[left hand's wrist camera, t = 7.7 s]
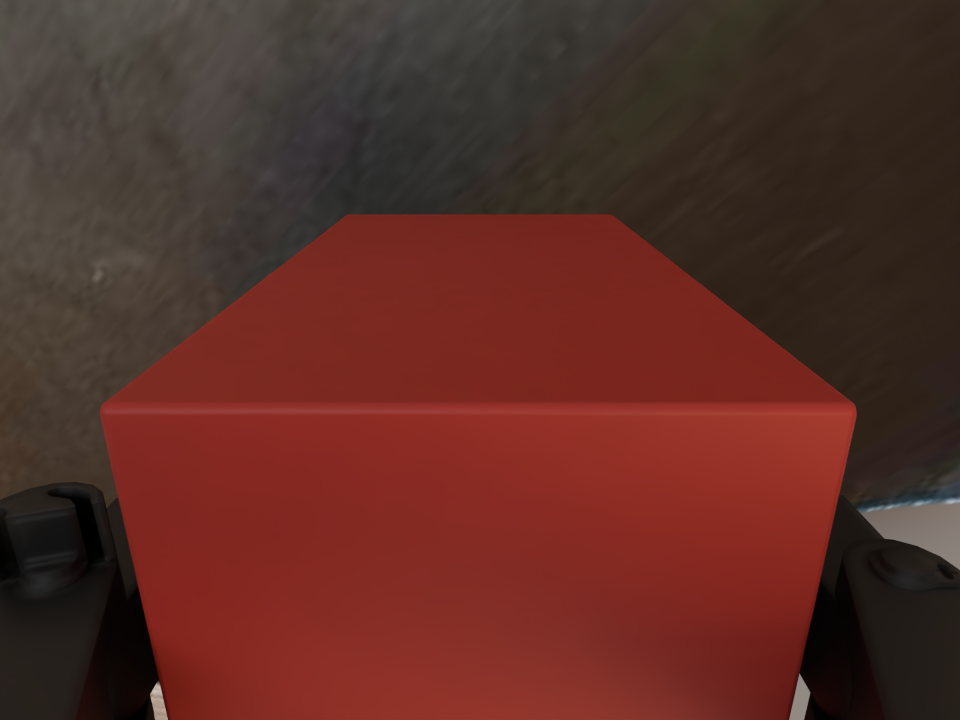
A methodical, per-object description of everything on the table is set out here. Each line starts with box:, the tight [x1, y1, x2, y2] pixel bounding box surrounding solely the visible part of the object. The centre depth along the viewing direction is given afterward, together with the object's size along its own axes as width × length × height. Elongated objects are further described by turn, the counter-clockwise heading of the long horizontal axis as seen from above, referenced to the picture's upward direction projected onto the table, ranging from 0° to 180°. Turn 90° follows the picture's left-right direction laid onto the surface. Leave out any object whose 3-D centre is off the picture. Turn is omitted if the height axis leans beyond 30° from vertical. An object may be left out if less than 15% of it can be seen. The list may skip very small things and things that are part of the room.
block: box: [100, 215, 857, 720], centre depth 12 cm, size 6×7×11 cm
